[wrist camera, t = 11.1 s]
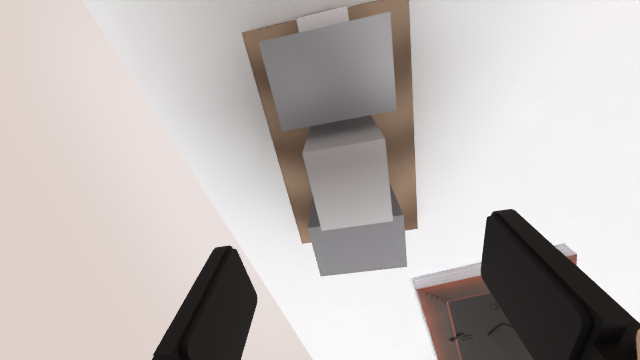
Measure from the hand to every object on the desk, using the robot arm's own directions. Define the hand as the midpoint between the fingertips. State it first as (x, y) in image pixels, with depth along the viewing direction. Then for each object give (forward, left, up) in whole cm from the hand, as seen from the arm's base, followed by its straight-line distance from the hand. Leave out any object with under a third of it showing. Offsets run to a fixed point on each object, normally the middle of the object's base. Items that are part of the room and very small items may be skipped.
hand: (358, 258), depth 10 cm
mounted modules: (0, 0, -13) cm, 13 cm away
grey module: (0, 0, -13) cm, 13 cm away
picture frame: (+28, +15, -17) cm, 36 cm away
